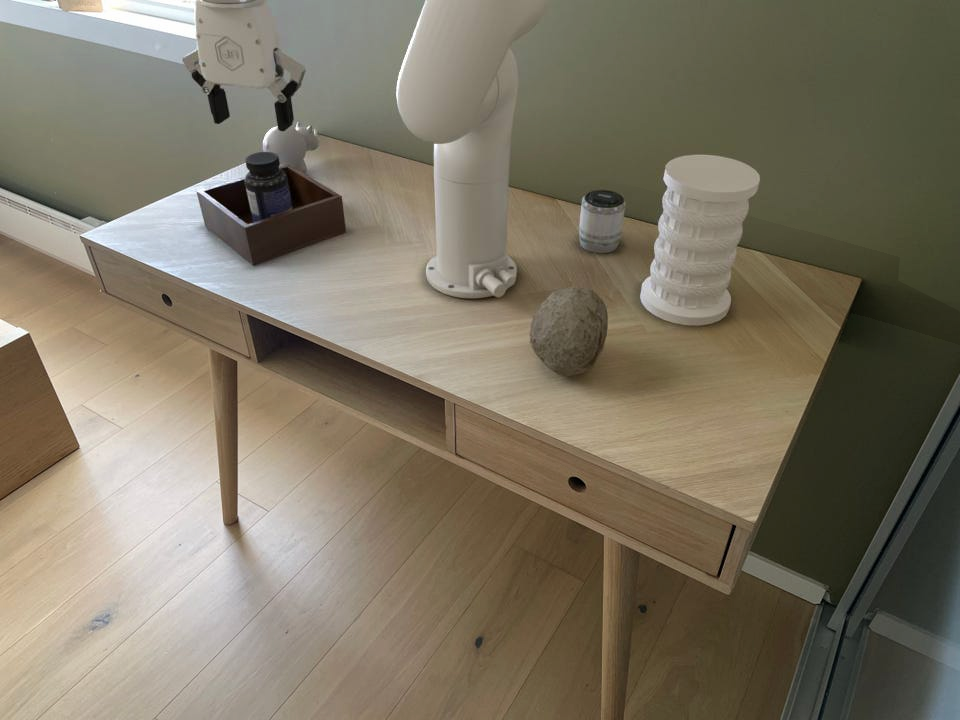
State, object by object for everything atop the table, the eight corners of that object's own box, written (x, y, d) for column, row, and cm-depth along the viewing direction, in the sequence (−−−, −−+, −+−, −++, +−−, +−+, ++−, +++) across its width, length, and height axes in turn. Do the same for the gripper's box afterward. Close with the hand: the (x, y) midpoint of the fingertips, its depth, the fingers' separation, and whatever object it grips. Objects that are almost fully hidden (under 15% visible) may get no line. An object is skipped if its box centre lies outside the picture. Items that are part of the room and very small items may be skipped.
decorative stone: (548, 333, 89) (553, 263, 83) (613, 352, 86) (624, 281, 80) (513, 379, 82) (517, 306, 76) (583, 401, 79) (592, 328, 73)
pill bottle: (300, 218, 112) (289, 150, 105) (288, 237, 107) (276, 167, 100) (262, 216, 113) (248, 148, 106) (248, 235, 108) (233, 164, 101)
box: (346, 232, 110) (342, 195, 106) (253, 266, 102) (244, 228, 98) (294, 198, 119) (289, 163, 115) (205, 227, 111) (196, 190, 107)
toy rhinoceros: (336, 163, 131) (330, 116, 125) (289, 186, 123) (281, 137, 117) (306, 154, 134) (300, 108, 128) (259, 176, 126) (250, 128, 120)
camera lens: (583, 231, 111) (588, 183, 106) (623, 238, 109) (630, 190, 104) (572, 250, 106) (577, 200, 101) (614, 257, 104) (622, 208, 99)
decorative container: (641, 321, 91) (664, 189, 80) (638, 274, 100) (659, 150, 89) (734, 329, 90) (771, 196, 79) (723, 281, 99) (754, 156, 88)
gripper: (150, -10, 88) (183, 127, 99) (280, 0, 85) (299, 140, 96) (184, -22, 94) (211, 109, 105) (306, -12, 91) (322, 121, 102)
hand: (253, 124), depth 100 cm, fingers open, 9 cm apart
